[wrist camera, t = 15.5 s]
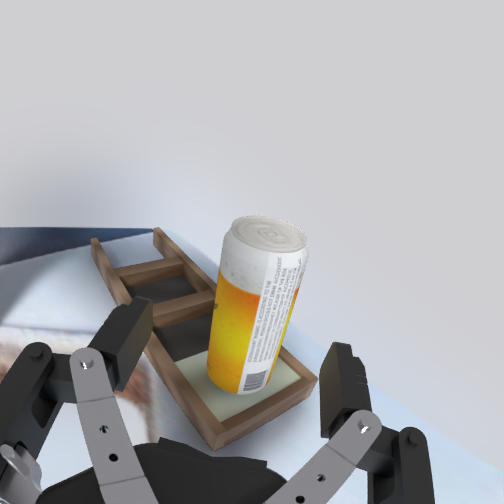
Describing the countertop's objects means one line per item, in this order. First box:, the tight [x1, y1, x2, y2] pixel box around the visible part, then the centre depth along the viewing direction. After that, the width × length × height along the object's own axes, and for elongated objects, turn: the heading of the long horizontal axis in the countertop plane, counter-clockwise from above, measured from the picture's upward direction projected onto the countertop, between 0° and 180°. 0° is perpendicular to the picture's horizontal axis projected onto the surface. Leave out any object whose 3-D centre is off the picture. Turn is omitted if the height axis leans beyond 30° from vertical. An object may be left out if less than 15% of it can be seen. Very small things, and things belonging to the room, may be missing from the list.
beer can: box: [206, 216, 308, 395], centre depth 26 cm, size 6×6×15 cm
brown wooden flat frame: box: [91, 228, 318, 451], centre depth 38 cm, size 36×12×3 cm, turn 38°
